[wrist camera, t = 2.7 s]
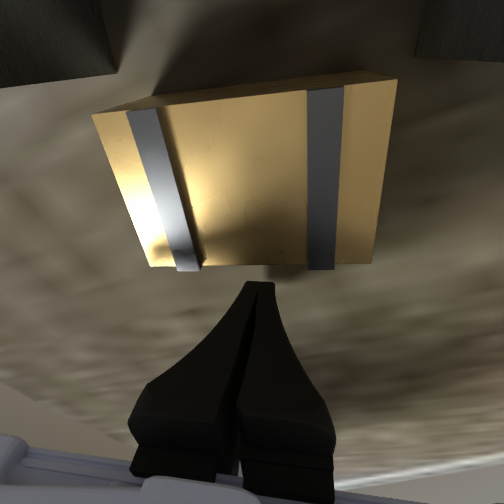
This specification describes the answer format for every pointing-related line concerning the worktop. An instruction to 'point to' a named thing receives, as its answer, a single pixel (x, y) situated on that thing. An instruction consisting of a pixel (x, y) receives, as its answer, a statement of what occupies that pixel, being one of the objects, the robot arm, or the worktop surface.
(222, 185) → the block
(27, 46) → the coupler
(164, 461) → the robot arm
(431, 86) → the worktop surface
